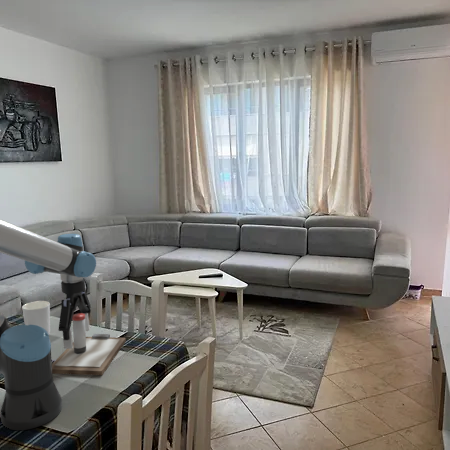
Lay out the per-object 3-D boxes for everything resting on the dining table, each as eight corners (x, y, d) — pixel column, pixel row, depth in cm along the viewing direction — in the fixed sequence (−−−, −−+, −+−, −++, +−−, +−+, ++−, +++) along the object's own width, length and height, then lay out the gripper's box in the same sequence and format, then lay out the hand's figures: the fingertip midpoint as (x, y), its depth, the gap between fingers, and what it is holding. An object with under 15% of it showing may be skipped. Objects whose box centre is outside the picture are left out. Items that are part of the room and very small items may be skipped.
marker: (71, 353, 143) (69, 317, 141) (76, 348, 147) (75, 313, 145) (83, 354, 143) (82, 318, 141) (88, 348, 147) (87, 313, 145)
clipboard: (47, 373, 134) (46, 365, 134) (79, 340, 158) (78, 333, 157) (102, 375, 133) (101, 367, 132) (125, 341, 156) (125, 334, 156)
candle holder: (56, 329, 167) (54, 301, 165) (44, 340, 158) (41, 310, 155) (33, 328, 168) (30, 300, 166) (19, 339, 159) (16, 309, 156)
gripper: (67, 292, 128) (71, 356, 132) (97, 269, 153) (101, 324, 156) (43, 291, 129) (49, 355, 132) (77, 269, 153) (81, 323, 157)
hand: (77, 339), depth 144 cm, fingers open, 13 cm apart
